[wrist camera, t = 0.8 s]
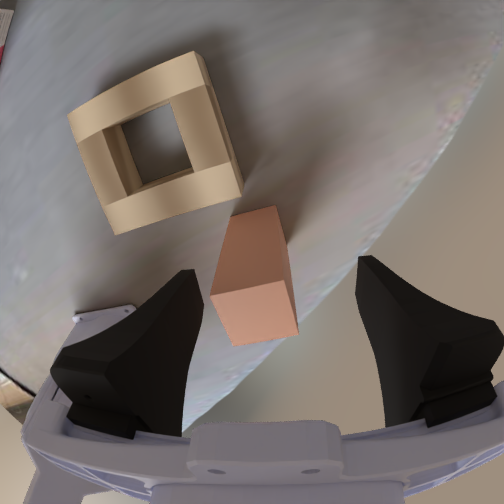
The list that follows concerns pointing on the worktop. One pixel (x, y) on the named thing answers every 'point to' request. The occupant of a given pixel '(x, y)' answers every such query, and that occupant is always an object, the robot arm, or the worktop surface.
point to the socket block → (193, 134)
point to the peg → (255, 280)
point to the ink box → (4, 26)
